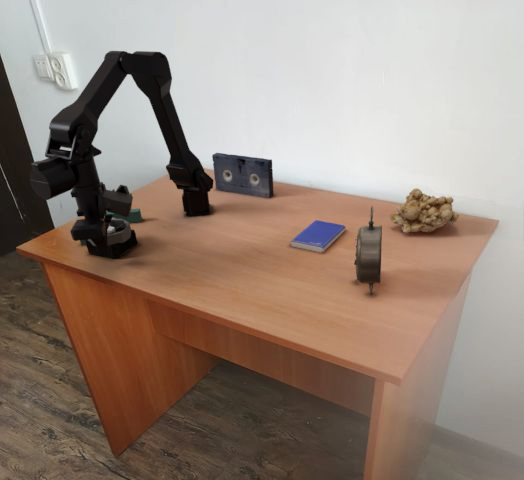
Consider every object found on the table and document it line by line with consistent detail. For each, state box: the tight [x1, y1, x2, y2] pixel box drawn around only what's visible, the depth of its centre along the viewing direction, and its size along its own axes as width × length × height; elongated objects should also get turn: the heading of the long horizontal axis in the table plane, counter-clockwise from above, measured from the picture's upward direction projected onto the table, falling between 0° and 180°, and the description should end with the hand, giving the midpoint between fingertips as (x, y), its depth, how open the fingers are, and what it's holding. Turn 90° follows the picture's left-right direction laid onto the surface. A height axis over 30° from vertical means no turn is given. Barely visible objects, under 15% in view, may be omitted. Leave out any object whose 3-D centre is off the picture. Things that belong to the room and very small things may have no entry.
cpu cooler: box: [85, 218, 139, 259], centre depth 119 cm, size 10×6×10 cm
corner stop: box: [79, 208, 143, 246], centre depth 127 cm, size 14×13×3 cm
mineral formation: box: [388, 187, 460, 234], centre depth 117 cm, size 8×13×15 cm
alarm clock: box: [353, 205, 383, 296], centre depth 96 cm, size 11×5×16 cm, turn 168°
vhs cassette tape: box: [211, 152, 274, 199], centre depth 141 cm, size 18×3×10 cm, turn 59°
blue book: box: [290, 220, 346, 254], centre depth 117 cm, size 2×8×12 cm
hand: (105, 251), depth 112 cm, fingers closed
